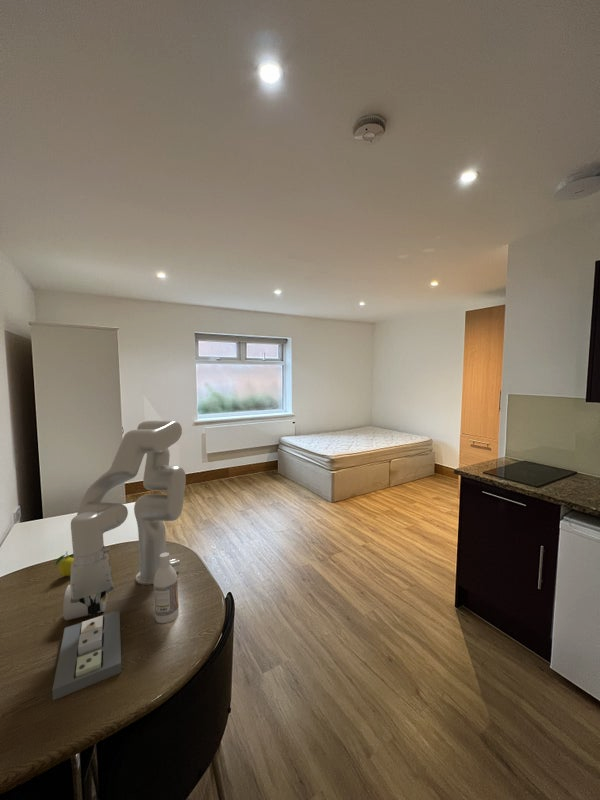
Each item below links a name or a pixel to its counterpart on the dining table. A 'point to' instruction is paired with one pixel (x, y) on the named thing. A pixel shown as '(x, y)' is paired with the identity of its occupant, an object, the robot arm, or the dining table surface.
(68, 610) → the toilet paper
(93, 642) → the tile two
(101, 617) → the tile one
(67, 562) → the lemon
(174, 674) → the dining table surface
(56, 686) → the board
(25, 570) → the dining table surface
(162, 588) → the bath foam
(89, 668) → the tile three
